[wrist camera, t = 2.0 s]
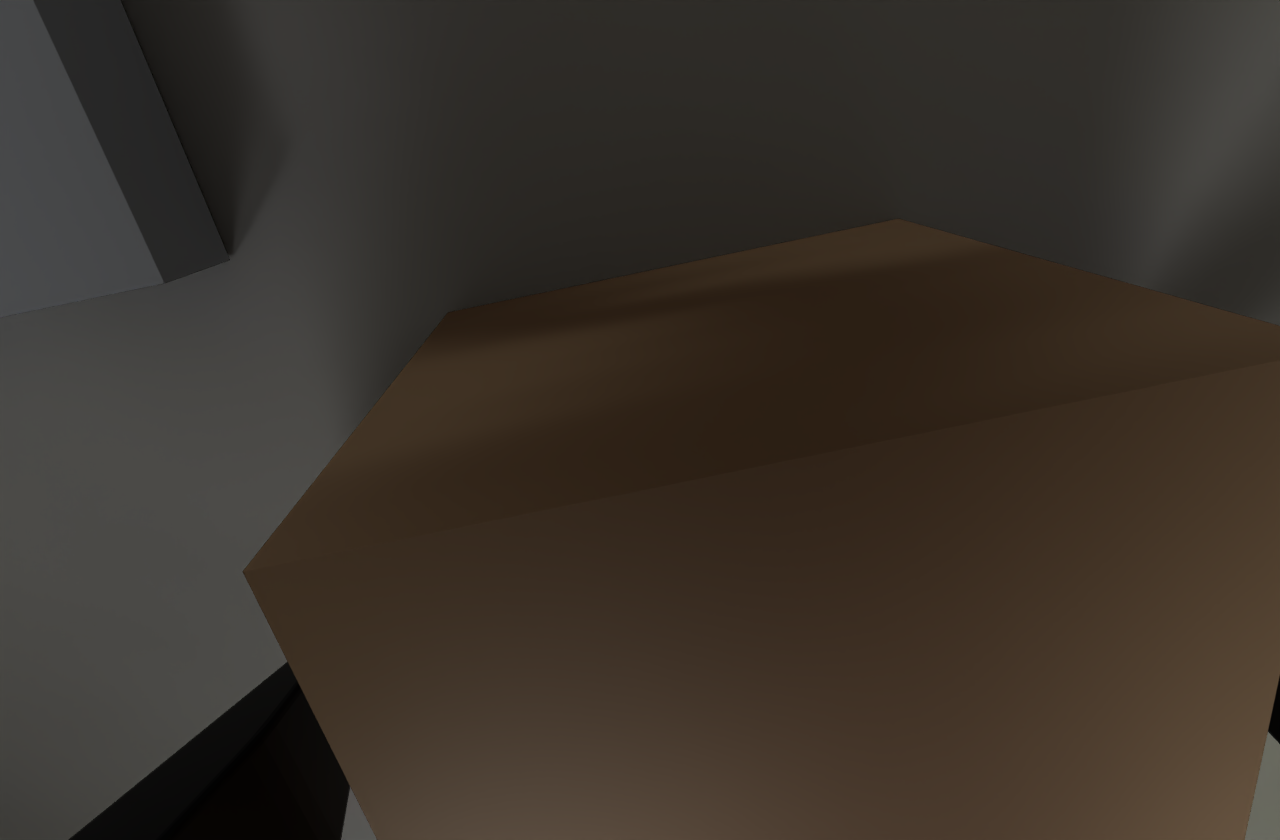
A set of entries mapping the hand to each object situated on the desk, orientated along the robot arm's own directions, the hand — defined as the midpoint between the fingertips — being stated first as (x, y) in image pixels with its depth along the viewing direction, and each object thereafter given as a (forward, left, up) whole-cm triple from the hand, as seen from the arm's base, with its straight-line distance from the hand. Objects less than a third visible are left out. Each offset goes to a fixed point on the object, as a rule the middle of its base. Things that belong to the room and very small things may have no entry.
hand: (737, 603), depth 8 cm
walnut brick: (0, 0, -2) cm, 2 cm away
